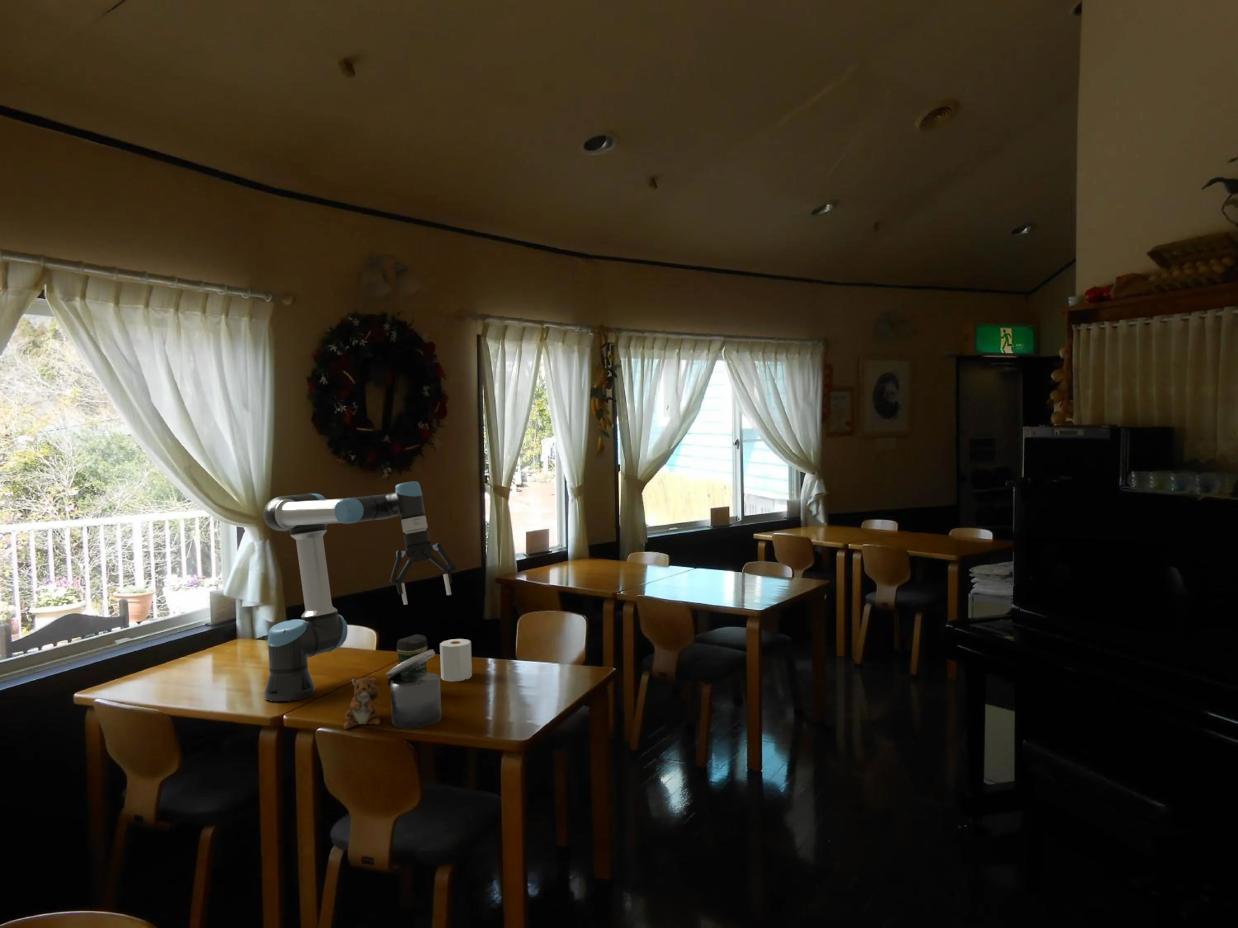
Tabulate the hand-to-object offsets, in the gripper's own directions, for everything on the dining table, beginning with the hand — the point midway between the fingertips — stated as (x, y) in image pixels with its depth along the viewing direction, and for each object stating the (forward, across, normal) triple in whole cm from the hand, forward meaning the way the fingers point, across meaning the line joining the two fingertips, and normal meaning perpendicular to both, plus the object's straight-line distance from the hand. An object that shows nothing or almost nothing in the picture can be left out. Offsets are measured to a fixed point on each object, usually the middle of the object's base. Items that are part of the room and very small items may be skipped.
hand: (427, 599), depth 250 cm
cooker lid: (+17, -10, -8) cm, 22 cm away
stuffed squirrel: (+31, -24, +1) cm, 39 cm away
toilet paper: (+30, +12, +28) cm, 43 cm away
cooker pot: (+33, -11, -6) cm, 35 cm away
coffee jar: (+30, -5, +19) cm, 36 cm away
